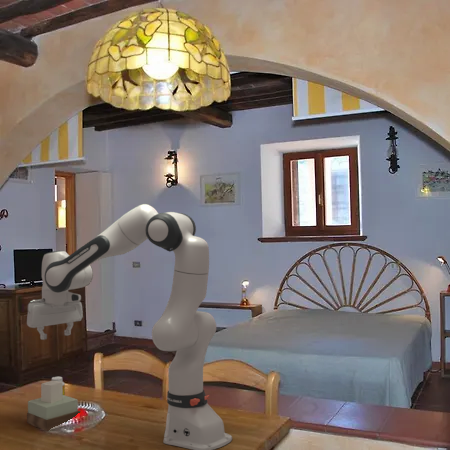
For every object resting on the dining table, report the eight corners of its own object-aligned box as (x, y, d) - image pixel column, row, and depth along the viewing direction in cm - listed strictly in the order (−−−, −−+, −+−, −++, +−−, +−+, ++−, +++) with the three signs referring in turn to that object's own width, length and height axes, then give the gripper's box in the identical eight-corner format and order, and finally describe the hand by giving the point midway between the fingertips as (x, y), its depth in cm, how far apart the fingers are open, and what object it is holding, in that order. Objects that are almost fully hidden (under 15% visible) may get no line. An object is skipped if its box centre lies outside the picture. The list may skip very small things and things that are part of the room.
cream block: (62, 399, 197) (62, 382, 197) (50, 403, 193) (50, 385, 193) (53, 397, 200) (52, 380, 200) (41, 401, 196) (41, 383, 196)
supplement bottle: (67, 404, 216) (66, 377, 216) (53, 407, 213) (52, 380, 213) (61, 401, 220) (60, 375, 221) (47, 404, 217) (47, 377, 217)
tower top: (77, 411, 197) (77, 399, 197) (46, 419, 188) (46, 407, 188) (58, 404, 205) (58, 393, 205) (28, 412, 196) (27, 401, 196)
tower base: (80, 422, 197) (80, 411, 197) (47, 432, 187) (47, 420, 187) (60, 415, 205) (60, 404, 206) (27, 424, 196) (26, 412, 196)
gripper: (32, 301, 188) (33, 342, 188) (84, 295, 203) (85, 333, 203) (22, 299, 192) (23, 340, 192) (74, 294, 207) (75, 332, 207)
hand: (55, 337), depth 197 cm, fingers open, 8 cm apart
